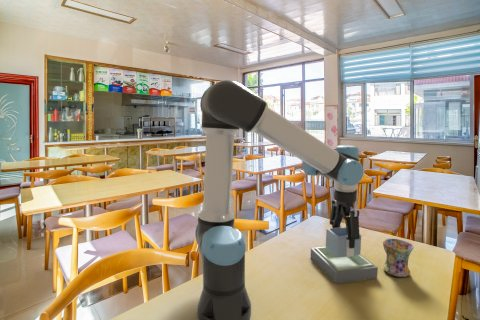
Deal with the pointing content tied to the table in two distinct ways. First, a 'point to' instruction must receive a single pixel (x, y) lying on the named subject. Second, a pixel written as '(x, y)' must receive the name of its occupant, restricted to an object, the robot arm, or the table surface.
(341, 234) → the small crate
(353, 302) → the table surface
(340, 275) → the bottom crate
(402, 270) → the mug
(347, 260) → the top crate
